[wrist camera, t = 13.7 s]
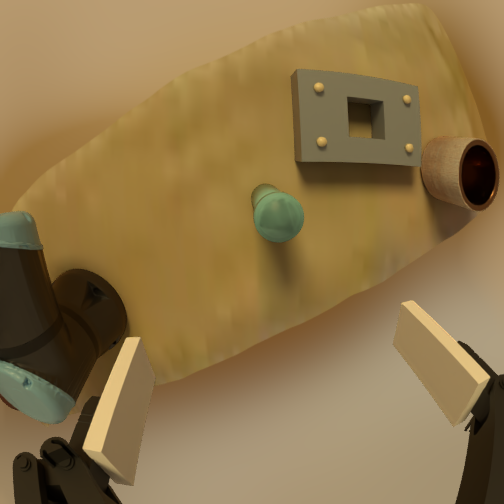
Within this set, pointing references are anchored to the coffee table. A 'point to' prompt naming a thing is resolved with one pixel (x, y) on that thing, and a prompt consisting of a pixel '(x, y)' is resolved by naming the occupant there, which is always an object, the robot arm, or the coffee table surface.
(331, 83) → the grey socket block
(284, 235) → the plug
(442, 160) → the planter
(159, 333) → the coffee table surface
